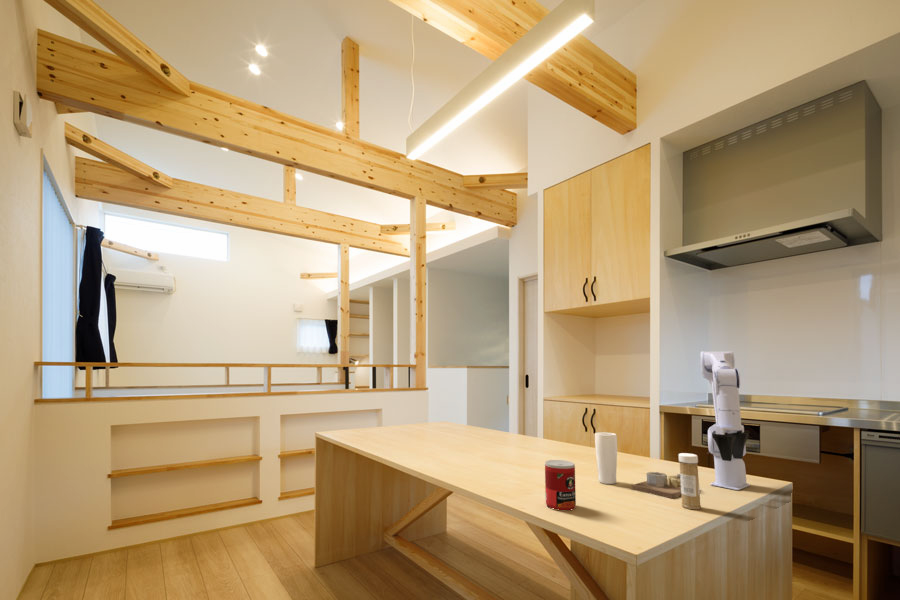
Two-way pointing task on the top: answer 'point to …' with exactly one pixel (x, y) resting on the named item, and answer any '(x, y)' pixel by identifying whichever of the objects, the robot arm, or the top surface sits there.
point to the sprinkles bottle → (689, 481)
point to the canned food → (560, 484)
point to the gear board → (669, 492)
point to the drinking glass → (606, 456)
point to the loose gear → (657, 479)
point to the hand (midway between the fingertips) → (732, 459)
